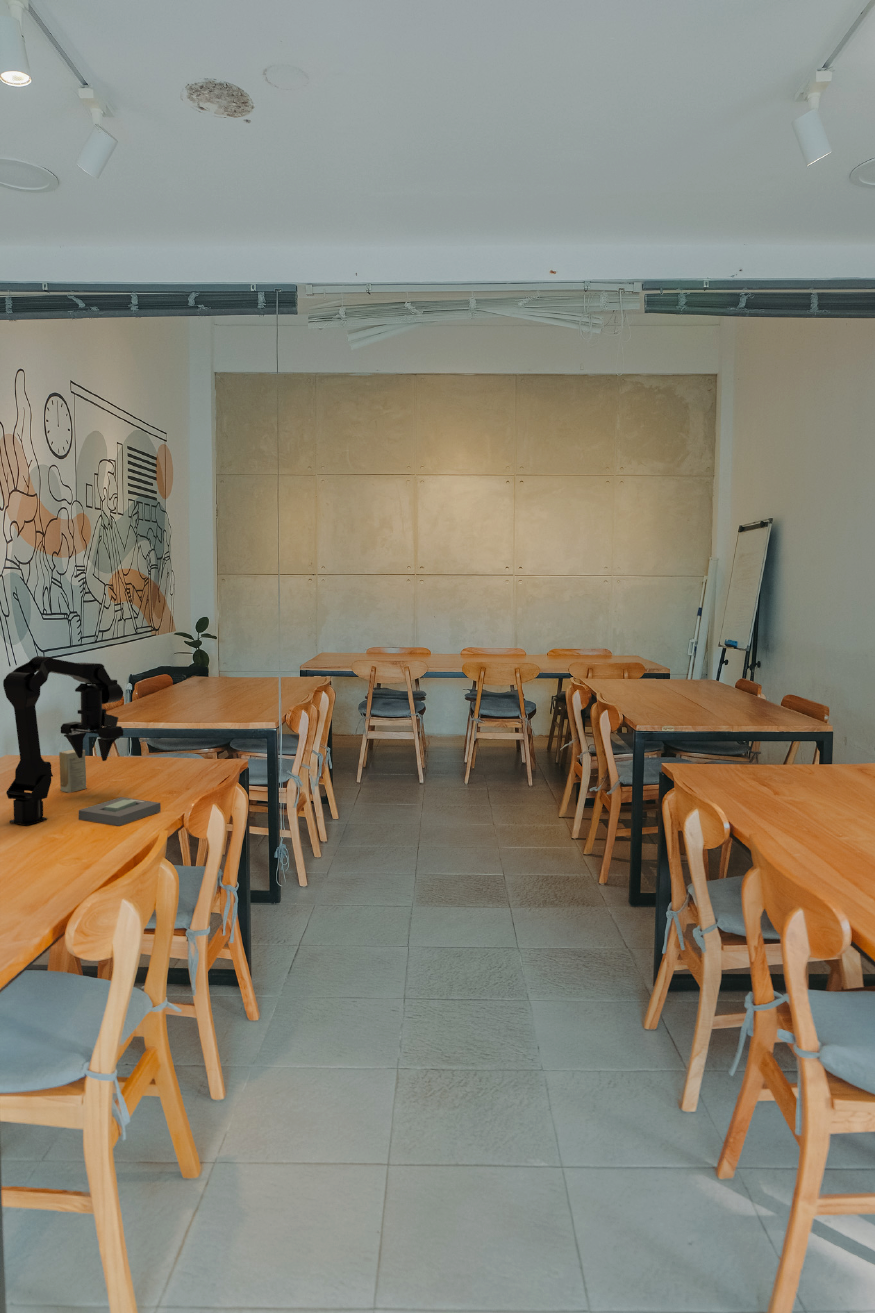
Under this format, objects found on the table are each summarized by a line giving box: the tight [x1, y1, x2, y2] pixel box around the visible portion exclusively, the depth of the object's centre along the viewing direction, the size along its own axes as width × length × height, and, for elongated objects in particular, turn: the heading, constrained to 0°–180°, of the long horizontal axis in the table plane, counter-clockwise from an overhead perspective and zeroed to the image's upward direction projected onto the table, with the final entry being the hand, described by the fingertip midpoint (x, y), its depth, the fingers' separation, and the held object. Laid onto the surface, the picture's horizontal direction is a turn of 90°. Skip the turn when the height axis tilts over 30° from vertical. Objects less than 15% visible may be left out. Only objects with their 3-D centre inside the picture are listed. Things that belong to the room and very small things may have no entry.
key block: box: [104, 800, 136, 812], centre depth 221 cm, size 4×8×4 cm, turn 164°
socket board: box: [77, 796, 162, 827], centre depth 221 cm, size 16×14×3 cm
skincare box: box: [58, 749, 87, 794], centre depth 247 cm, size 6×4×12 cm
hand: (92, 759), depth 235 cm, fingers open, 9 cm apart
